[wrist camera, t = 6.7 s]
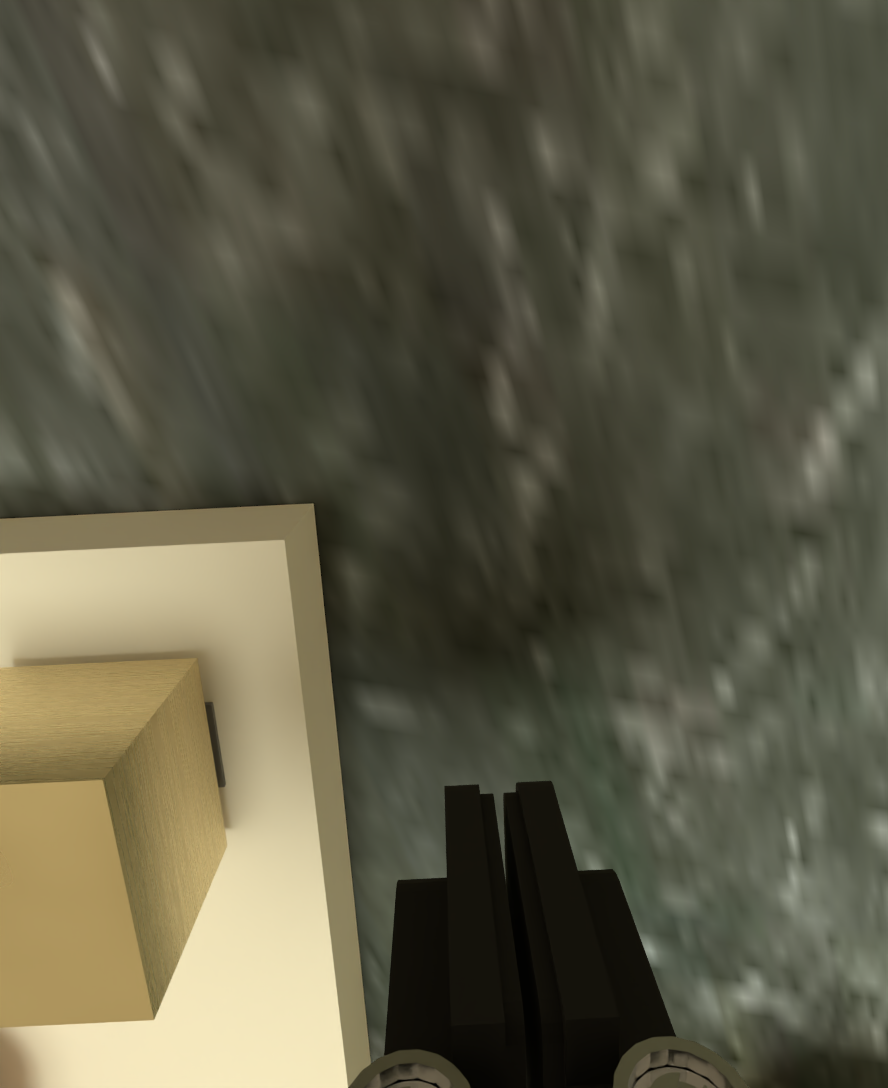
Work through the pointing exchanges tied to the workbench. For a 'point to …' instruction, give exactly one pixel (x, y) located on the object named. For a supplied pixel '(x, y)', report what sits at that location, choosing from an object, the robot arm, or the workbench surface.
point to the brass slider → (101, 836)
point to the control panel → (243, 781)
